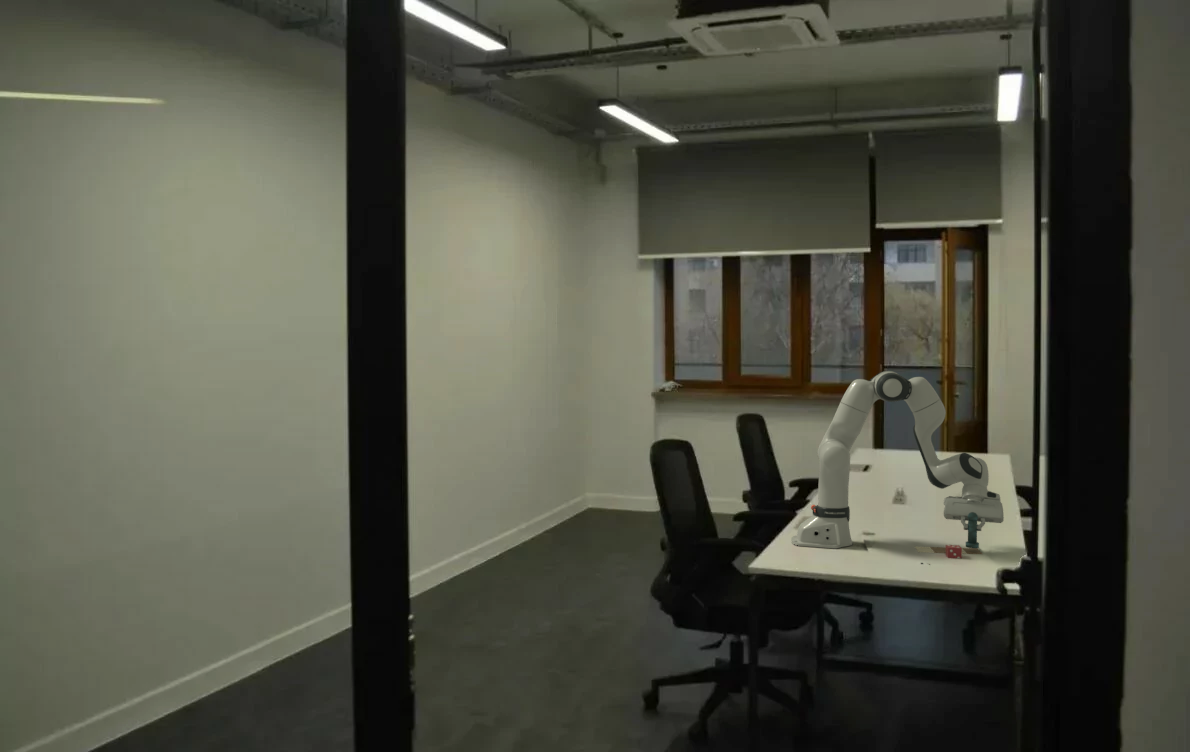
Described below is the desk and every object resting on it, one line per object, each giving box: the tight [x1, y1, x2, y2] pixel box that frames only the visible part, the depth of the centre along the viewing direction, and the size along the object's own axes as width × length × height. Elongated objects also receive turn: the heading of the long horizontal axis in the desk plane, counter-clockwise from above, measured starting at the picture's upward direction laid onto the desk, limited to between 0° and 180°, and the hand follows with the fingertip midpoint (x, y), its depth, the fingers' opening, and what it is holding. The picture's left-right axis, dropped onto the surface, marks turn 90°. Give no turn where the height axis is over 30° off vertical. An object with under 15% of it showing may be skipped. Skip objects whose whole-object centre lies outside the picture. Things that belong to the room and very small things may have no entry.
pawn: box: [965, 512, 980, 549], centre depth 343 cm, size 4×4×12 cm
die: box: [945, 544, 963, 559], centre depth 335 cm, size 4×5×5 cm
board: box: [914, 545, 984, 555], centre depth 345 cm, size 23×10×1 cm, turn 80°
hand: (972, 529), depth 342 cm, fingers closed on pawn, 3 cm apart
